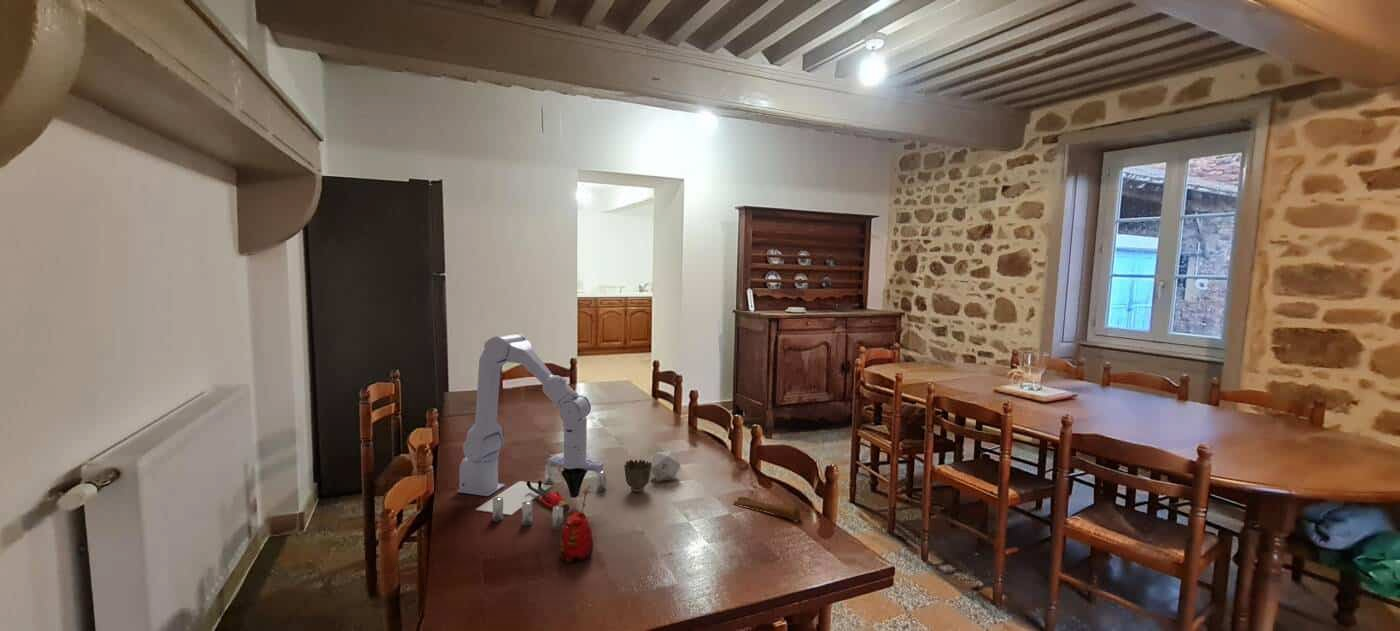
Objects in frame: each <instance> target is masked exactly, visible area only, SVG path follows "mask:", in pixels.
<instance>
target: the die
mask: <svg viewBox="0 0 1400 631" xmlns="http://www.w3.org/2000/svg"><path fill="white" fill-rule="evenodd" d="M650 462H651V474H652V475H653V476H654V478H655V479H656V481H657V482H663V481H664V482H665V481H673V480H675V479H676V476H677V474H678V471H679V470H680V467H681V462H680V461H679V459H678V458H677V457H676V455H675V453H674V452H673V450H667V451H665V450H664V451H657V452H656V451H655V452H654V455H653V456H652V459H651V461H650Z"/></svg>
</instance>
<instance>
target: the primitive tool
mask: <svg viewBox="0 0 1400 631" xmlns="http://www.w3.org/2000/svg"><path fill="white" fill-rule="evenodd" d="M737 499H738V501H735V500H734V501H735V502H734V504H737V505H742V506H747V507H750V508H754V509H758V510H762V511H767V512H770V513H774V514H777V515H780V516H783V517H786V518H785V519H787V518H789V519H788V520H790V519H791V520H790V521H792V520H793V521H795V520H798V519H799V520H800V519H801V511H800V509H799V508H798V507H796V508H788V507H783V506H779V505H775V504H770V503H766V502H761V501H758V500H755V499H752V498H750V497H745V496H740V497H738V498H737ZM780 516H779V517H780ZM783 517H782V518H783ZM793 521H792V522H793Z"/></svg>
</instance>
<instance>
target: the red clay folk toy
mask: <svg viewBox="0 0 1400 631" xmlns="http://www.w3.org/2000/svg"><path fill="white" fill-rule="evenodd" d="M590 488H591V486H590V485H588V486H587V488H586V489H584V491H583V490H582V492H581V493H583V494H584V496H583V502H581V505H582V507H581V511H580V512H579V511H575V512H573V513H572V514H571V515H569V516H568V517H567V518H566V520H565V523H564V524H563V526H562V529H561V535H560V538H559V550H560V551H559V553H560V558H561V560H563V561H564V562H566V563H568V564H571V563H573V562H580V561H581V562H582V561H583V560H585V559H586V558H588V557H589V556H590V555H591V554H592V553H593V550H594V549H593V547H594V539H593V535H592V528H591V524H590V522H589V520H588V518H587V516H586V514H585V513H584V512H583V511H584V508H585V507H586V503H585V502H586V497H587V494H588V493H591V492H592V491H591V490H590V491H589V489H590Z"/></svg>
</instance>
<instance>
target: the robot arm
mask: <svg viewBox="0 0 1400 631" xmlns="http://www.w3.org/2000/svg"><path fill="white" fill-rule="evenodd" d="M507 363H514V364H521V365H522V366H523V367H524V368H525V369H526V370H527V371H528V372H529V373H530V374H532V375H533V377H535V378H536V379H537V381H539V382H540V383H541V384H542V392H543V393H544V394H545V395H546V396H547V398H549V399H550V401H551V402H552V403H553V404H554V405H555V406H556V407H557V409H559V410H558V414H559V417H560V419H561V421H562V428H563V457H557V456H556V457H555V456H554V457H553V456H551V457H550V458H548V459H547V464H548V467H552V466H554V468H562V469H563V470H562V471H561V476H562V477H563V479H564V481H565V483H566V485H567V488H568V491H569V496H570V498H573V499H575V498H577V497H578V496H579V495H580V491H581V486H582V483H583V481H584V478H585V476H586V474H587V473H588V472H595V473H600V472H601V471H602V470H604V469H603V468H604V467H603V465H604V464H603V462H598V461H593V460H591V459H587V437H588V436H587V434H588V433H587V431H588V429H587V426H588V425H587V420H588V418H587V416H589V414H590V413H591V409H592V405H591V402H590V400H589V399H588V398H587V396H585V395H582V394H581V395H580V394H579V393H578V392H577V391H574V389H573V388H572V387H571V386H570V385H569V384H568V383H567V379H566V378H565V377H564V376H563V377H561V375H554V374H553V373H552V372H551V371H550V369H549V368H548V366H546V364H545V363H544V362H543V361H542V359H541V358H540V357H539V355H538V354H537V353H536V352H535V351H534V350H533V347H532V343H531V342H530V341H529V340H527V338H526V337H525V335H523V334H522V333H519V332H518V333H517V332H516V333H512V334H506V335H499V336H498V335H497V336H492V337H491V338H489V339H487V341H485V342H484V346H483V351H482V353H481V355H480V357H479V359H478V375H477V389H476V390H477V391H476V405H475V406H476V407H475V417H474V418H475V419H474V420H475V421H474V424H473V425H472V426H471V427H470V428H469V430H468V431H467V433H466V439H465V441H464V442H463V445H462V447H463V448H462V450H463V451H462V452H463V454H464V456H465V457H464V458H463V459H462V460H461V462H460V465H459V488H458V489H457V493H463V494H469V495H475V496H476V495H477V496H483V497H489V496H491V495H493V494H494V493H496V492H497V491H500V489H503V488H504V487H505V485H506V484H505V483H499V455H500V451H501V450H502V449H503V447H504V444H505V441H504V436H503V432H502V431H503V427H502V425H500V424H498V409H499V396H500V395H499V394H500V383H501V382H500V381H501V380H500V379H501V368H502V367H503V366H504V365H505V364H507Z"/></svg>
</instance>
